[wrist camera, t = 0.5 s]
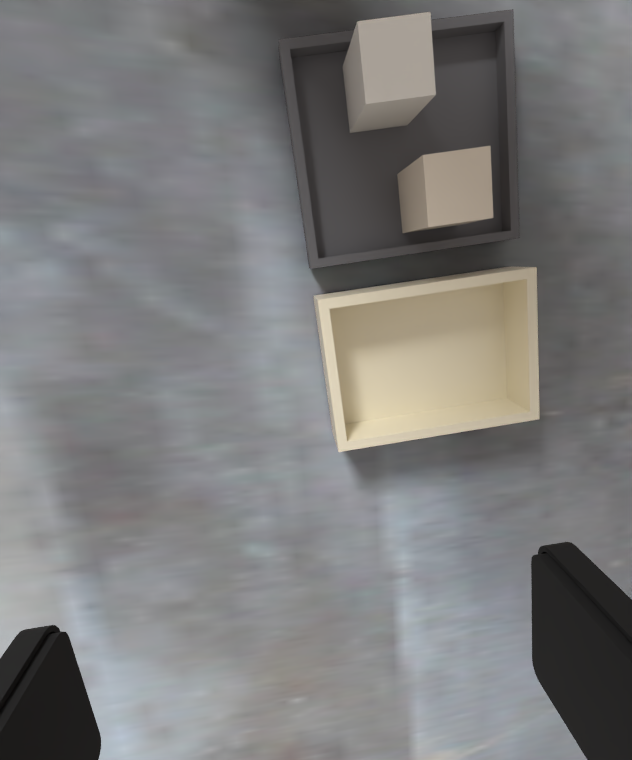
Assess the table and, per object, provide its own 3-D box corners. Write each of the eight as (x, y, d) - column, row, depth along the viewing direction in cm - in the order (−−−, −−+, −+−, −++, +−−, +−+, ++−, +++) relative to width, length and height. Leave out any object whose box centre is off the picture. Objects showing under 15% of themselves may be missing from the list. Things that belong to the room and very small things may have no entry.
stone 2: (397, 174, 32) (422, 154, 27) (453, 166, 33) (490, 145, 27) (402, 233, 34) (428, 227, 28) (456, 225, 34) (493, 217, 28)
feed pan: (278, 52, 31) (278, 39, 29) (500, 23, 31) (513, 9, 29) (309, 268, 34) (311, 268, 32) (507, 239, 35) (519, 238, 33)
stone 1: (342, 66, 31) (357, 21, 25) (401, 59, 31) (430, 11, 25) (349, 133, 32) (365, 104, 26) (407, 125, 32) (435, 94, 26)
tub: (313, 295, 35) (317, 299, 31) (508, 266, 35) (536, 266, 31) (332, 432, 37) (338, 451, 34) (513, 403, 38) (539, 419, 34)
